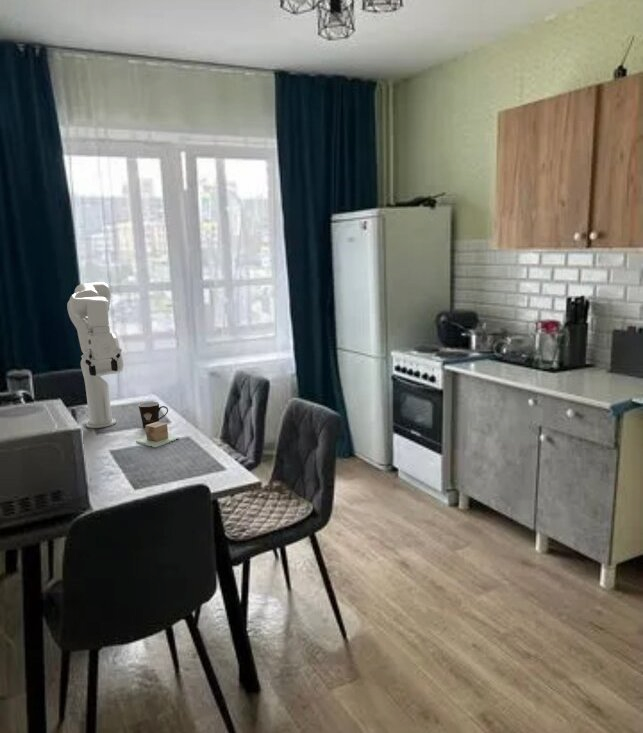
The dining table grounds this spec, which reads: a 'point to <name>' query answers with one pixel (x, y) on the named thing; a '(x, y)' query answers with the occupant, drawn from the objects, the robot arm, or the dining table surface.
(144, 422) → the coffee mug
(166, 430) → the walnut cube
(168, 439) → the green tile
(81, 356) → the robot arm
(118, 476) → the dining table surface
